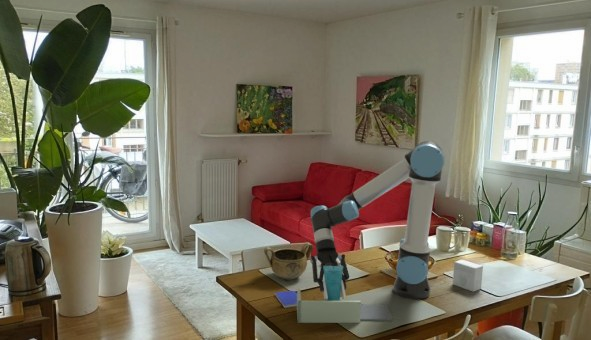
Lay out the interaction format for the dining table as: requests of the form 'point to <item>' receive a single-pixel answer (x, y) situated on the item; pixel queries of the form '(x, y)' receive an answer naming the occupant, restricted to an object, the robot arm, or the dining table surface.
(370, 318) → the mat
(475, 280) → the skincare box
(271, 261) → the ceramic bowl
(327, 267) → the tube
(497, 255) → the dining table surface
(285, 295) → the hard drive
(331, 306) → the l-shaped block
